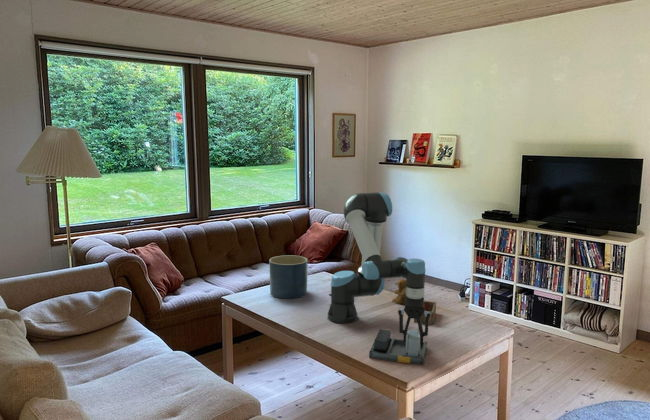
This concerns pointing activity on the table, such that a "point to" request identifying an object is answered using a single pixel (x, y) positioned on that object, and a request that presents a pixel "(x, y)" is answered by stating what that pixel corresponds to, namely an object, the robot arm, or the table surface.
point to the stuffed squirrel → (400, 292)
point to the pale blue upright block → (413, 343)
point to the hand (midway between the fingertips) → (412, 349)
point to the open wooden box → (429, 308)
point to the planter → (288, 276)
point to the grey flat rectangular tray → (394, 349)
